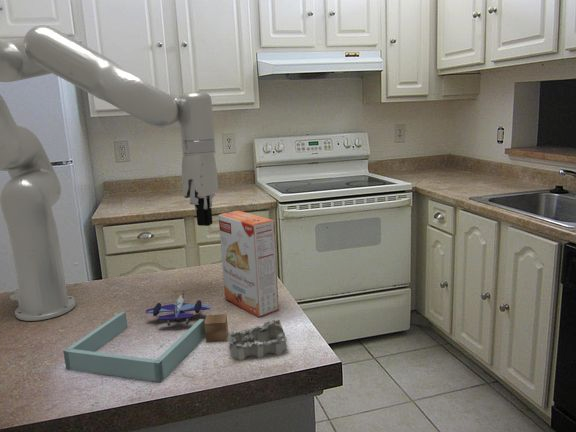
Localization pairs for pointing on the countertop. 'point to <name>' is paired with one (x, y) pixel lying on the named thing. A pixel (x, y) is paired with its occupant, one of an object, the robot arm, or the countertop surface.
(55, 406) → the countertop surface
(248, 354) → the egg carton
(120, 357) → the green u-shaped frame
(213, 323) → the walnut block
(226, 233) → the cracker box
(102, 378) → the countertop surface
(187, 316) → the toy airplane
